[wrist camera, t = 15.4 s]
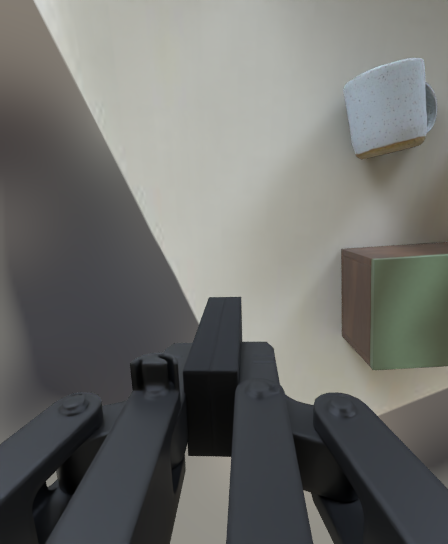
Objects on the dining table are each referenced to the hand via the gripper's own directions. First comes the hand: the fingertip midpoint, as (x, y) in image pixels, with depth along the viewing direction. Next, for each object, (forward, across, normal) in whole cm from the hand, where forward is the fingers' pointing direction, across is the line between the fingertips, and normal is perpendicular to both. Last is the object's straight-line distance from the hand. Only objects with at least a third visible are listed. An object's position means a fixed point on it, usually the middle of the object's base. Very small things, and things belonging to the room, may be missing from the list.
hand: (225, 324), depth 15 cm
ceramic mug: (+29, +17, +14) cm, 36 cm away
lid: (+19, +22, -6) cm, 29 cm away
